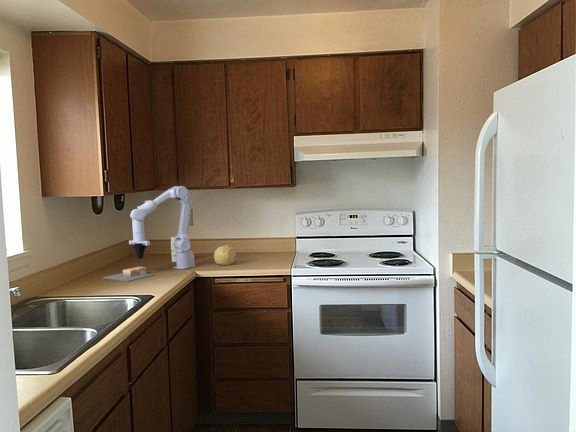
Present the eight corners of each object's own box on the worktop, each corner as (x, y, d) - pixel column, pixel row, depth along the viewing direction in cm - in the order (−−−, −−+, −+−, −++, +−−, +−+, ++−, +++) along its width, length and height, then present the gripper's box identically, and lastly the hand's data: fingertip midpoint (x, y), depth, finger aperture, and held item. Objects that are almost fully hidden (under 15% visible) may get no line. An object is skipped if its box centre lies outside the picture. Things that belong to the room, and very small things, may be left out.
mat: (129, 272, 264) (129, 271, 264) (154, 275, 252) (154, 274, 252) (102, 278, 251) (102, 277, 251) (127, 281, 239) (127, 280, 239)
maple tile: (139, 266, 260) (122, 269, 252) (146, 267, 257) (130, 270, 249) (139, 272, 260) (123, 275, 252) (146, 273, 257) (130, 276, 249)
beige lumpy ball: (230, 266, 268) (229, 246, 267) (210, 266, 272) (209, 246, 271) (239, 262, 279) (238, 243, 278) (220, 262, 283) (219, 243, 282)
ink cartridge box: (186, 259, 297) (185, 235, 296) (186, 261, 293) (185, 236, 291) (172, 260, 296) (170, 236, 295) (171, 262, 291) (170, 237, 290)
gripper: (123, 232, 257) (125, 258, 258) (141, 233, 249) (143, 260, 250) (134, 231, 263) (136, 256, 264) (152, 232, 254) (154, 258, 255)
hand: (140, 258), depth 257 cm, fingers closed
